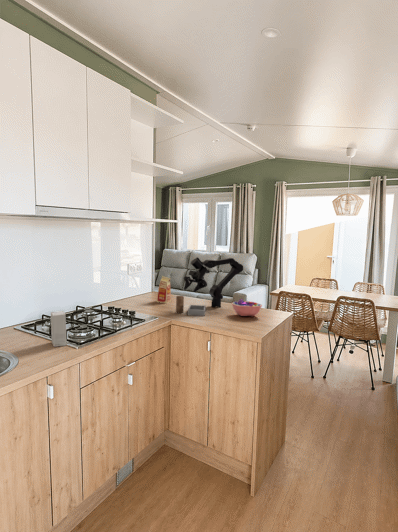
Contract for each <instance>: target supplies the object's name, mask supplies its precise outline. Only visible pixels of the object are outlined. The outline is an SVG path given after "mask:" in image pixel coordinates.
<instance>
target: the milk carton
mask: <svg viewBox="0 0 398 532" xmlns="http://www.w3.org/2000/svg"><path fill="white" fill-rule="evenodd" d="M171 287H172V286H171V277H167V276H164V275H161V279H160V281H159V286H158V290H157V295H156V296H157V297H156V303H159V302H160V304H168V303H171V299H172V293H171Z"/></svg>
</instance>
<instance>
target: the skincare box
mask: <svg viewBox="0 0 398 532" xmlns="http://www.w3.org/2000/svg"><path fill="white" fill-rule="evenodd" d="M66 315H67V314H66V313H65V312H64V310H62V311H61V310H60V311H59V310H58V311H52V312H50V327H51V328H50V330H51V332H50V333H51V344H52V346H53V347H55V348H56V347H57V348H58V347H65V346H67V345H68V344H67V343H68V342H67V322H66V321H67V319H66Z"/></svg>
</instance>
